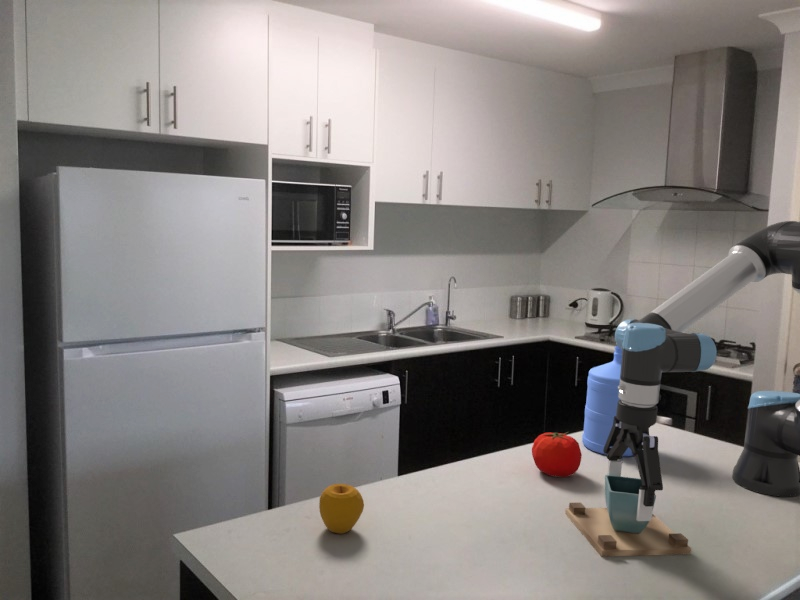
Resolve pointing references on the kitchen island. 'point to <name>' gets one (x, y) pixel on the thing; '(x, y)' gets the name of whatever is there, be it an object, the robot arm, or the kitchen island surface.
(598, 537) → the trivet
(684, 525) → the kitchen island surface
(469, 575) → the kitchen island surface
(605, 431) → the water jug
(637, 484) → the flower pot
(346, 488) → the apple
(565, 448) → the tomato
